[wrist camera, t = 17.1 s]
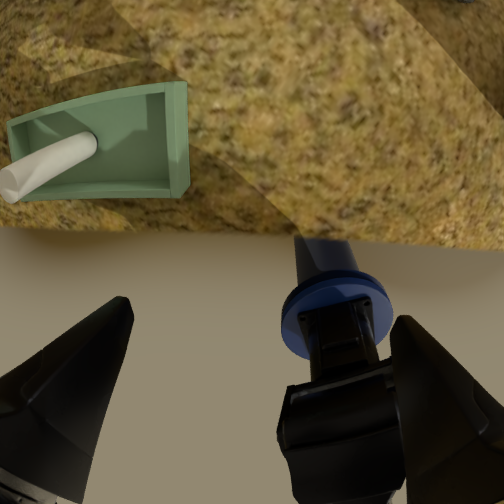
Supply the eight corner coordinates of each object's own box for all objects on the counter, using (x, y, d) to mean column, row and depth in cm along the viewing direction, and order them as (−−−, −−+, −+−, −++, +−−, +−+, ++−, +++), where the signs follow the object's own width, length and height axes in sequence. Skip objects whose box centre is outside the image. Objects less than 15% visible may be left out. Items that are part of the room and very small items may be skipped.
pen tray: (187, 81, 15) (174, 81, 13) (190, 185, 19) (180, 198, 17) (25, 115, 16) (6, 121, 14) (38, 190, 20) (20, 202, 18)
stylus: (104, 148, 17) (23, 195, 10) (86, 159, 18) (7, 209, 11) (94, 124, 16) (8, 161, 9) (76, 137, 17) (-7, 178, 10)
